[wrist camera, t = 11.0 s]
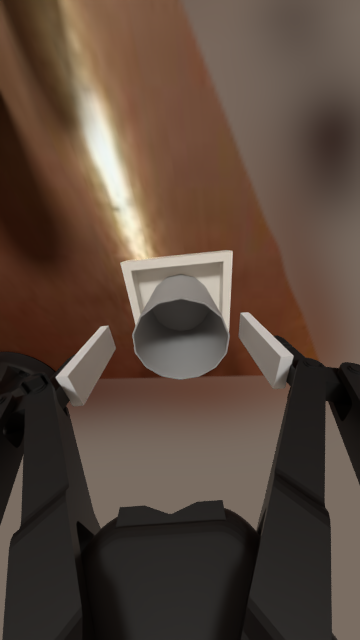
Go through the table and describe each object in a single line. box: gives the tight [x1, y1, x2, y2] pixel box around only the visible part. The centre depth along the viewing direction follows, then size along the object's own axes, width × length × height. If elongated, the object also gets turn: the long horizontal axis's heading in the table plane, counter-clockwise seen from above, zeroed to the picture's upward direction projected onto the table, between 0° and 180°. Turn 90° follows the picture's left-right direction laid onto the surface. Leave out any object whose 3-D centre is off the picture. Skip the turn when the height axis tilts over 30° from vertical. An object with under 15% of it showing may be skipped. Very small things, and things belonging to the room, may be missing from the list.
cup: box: [132, 274, 230, 380], centre depth 18 cm, size 8×8×10 cm
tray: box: [121, 250, 233, 332], centre depth 22 cm, size 13×13×2 cm
